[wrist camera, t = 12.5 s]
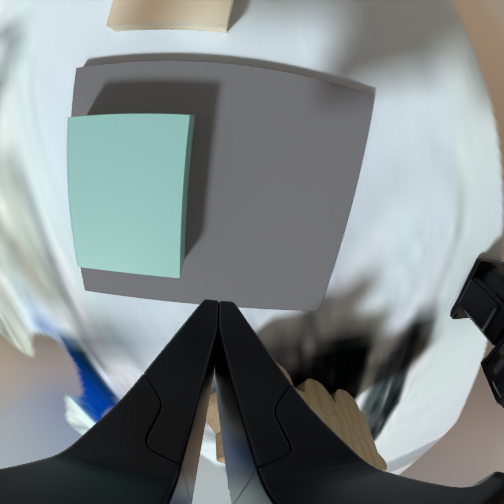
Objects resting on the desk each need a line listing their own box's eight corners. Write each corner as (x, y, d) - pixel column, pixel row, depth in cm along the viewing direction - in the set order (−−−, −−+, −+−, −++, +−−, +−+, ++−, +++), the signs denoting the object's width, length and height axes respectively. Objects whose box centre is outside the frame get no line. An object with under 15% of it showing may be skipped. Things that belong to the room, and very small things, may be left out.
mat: (369, 96, 13) (374, 96, 12) (316, 305, 19) (318, 311, 19) (81, 69, 11) (76, 68, 10) (88, 285, 17) (85, 290, 16)
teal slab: (189, 114, 10) (67, 117, 10) (179, 278, 14) (77, 266, 13) (195, 114, 12) (86, 115, 11) (184, 259, 16) (91, 250, 15)
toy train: (241, 344, 20) (251, 468, 12) (361, 396, 26) (388, 471, 18) (201, 377, 22) (198, 485, 13) (324, 420, 28) (343, 491, 19)
